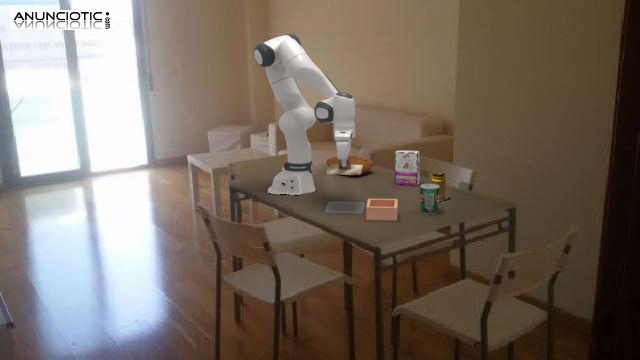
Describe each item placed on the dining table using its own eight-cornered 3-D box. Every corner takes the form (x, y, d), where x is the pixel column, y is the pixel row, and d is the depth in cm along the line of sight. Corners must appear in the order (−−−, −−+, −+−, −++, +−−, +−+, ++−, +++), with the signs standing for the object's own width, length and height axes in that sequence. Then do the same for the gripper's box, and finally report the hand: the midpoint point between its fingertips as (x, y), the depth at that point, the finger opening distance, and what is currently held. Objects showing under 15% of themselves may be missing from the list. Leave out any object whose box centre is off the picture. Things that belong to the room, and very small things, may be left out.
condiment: (427, 199, 265) (427, 173, 262) (436, 195, 271) (437, 169, 268) (441, 202, 261) (442, 175, 258) (451, 198, 267) (452, 171, 264)
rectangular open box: (366, 221, 238) (366, 207, 236) (368, 212, 249) (368, 198, 248) (396, 222, 236) (397, 207, 234) (397, 213, 247) (397, 199, 246)
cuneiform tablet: (324, 172, 318) (323, 157, 316) (346, 166, 329) (346, 152, 327) (354, 179, 302) (354, 164, 300) (376, 173, 314) (376, 158, 312)
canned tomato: (442, 213, 246) (443, 187, 243) (424, 215, 244) (425, 189, 241) (433, 207, 253) (434, 182, 250) (416, 209, 251) (416, 184, 248)
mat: (324, 213, 249) (324, 212, 249) (329, 202, 264) (329, 201, 264) (362, 214, 247) (362, 213, 246) (365, 203, 262) (365, 202, 262)
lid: (326, 174, 245) (326, 163, 244) (330, 166, 259) (330, 156, 258) (360, 174, 244) (360, 164, 242) (362, 166, 257) (362, 156, 256)
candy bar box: (419, 183, 291) (420, 150, 287) (417, 186, 287) (418, 152, 282) (397, 182, 295) (397, 149, 291) (394, 184, 291) (394, 151, 287)
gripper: (339, 128, 258) (339, 159, 261) (333, 137, 238) (334, 171, 241) (354, 128, 257) (354, 160, 260) (349, 137, 237) (350, 171, 241)
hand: (344, 165), depth 251 cm, fingers closed on lid, 2 cm apart
